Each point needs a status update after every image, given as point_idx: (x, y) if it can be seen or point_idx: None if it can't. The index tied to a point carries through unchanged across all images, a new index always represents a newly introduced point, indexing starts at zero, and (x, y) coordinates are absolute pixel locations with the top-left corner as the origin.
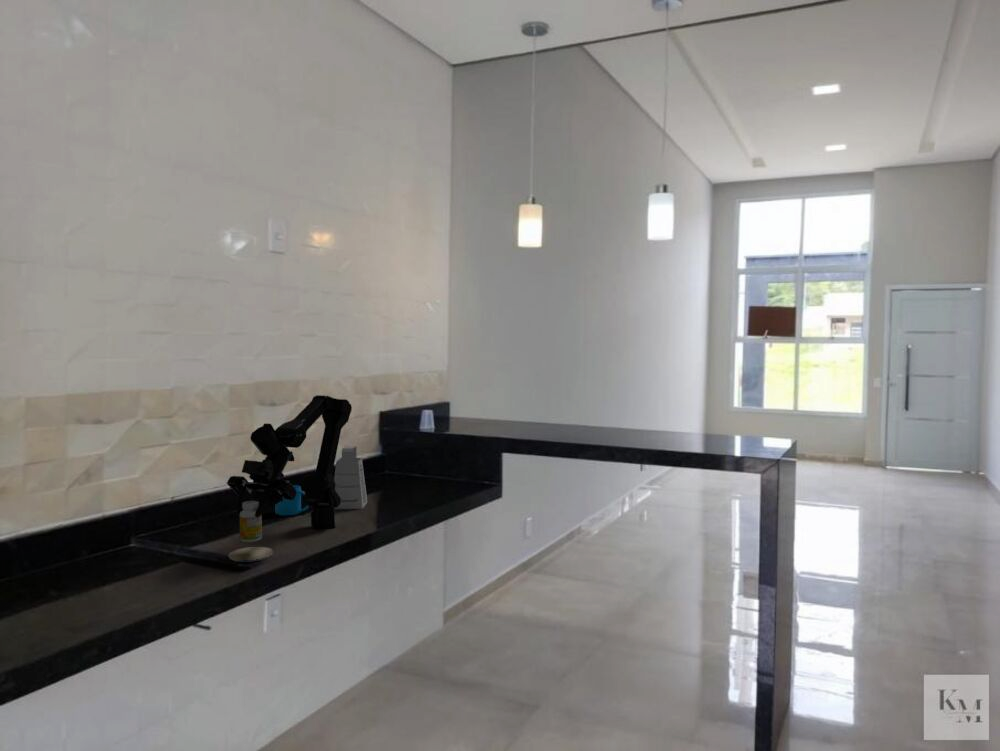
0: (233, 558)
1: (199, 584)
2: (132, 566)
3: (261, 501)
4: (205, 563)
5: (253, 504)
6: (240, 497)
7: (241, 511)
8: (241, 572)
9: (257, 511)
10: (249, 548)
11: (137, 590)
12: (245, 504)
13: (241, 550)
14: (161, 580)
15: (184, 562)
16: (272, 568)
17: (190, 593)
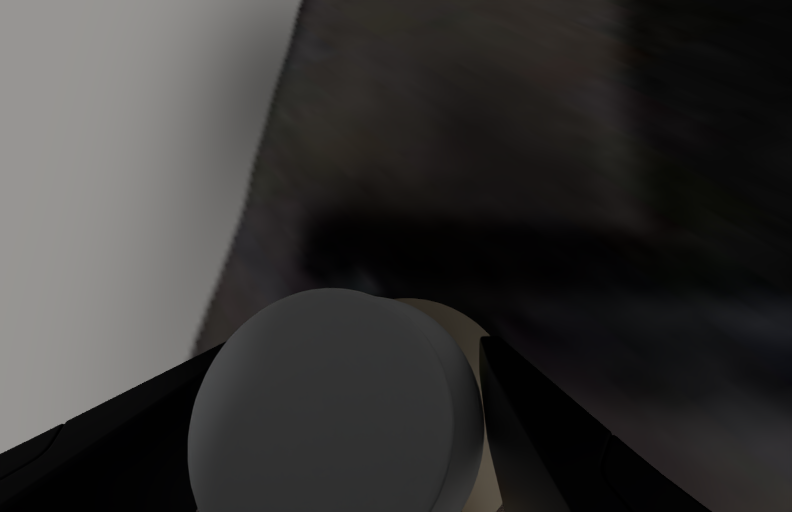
0: (422, 300)
1: (362, 92)
2: (764, 114)
3: (84, 446)
4: (526, 247)
5: (222, 349)
6: (631, 494)
7: (439, 347)
8: (306, 218)
9: (208, 356)
10: (473, 490)
11: (491, 5)
12: (328, 290)
13: (485, 432)
14: (504, 70)
15: (625, 224)
16: (216, 298)
17: (335, 44)
